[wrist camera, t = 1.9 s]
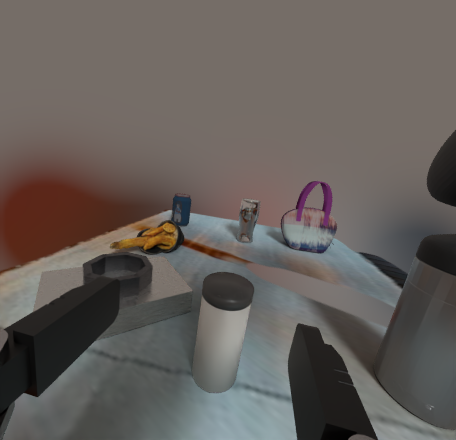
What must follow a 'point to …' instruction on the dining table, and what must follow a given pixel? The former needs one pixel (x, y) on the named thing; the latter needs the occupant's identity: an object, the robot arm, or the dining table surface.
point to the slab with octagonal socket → (125, 288)
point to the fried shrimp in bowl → (155, 239)
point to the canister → (221, 330)
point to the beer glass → (248, 220)
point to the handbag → (310, 223)
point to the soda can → (181, 209)
